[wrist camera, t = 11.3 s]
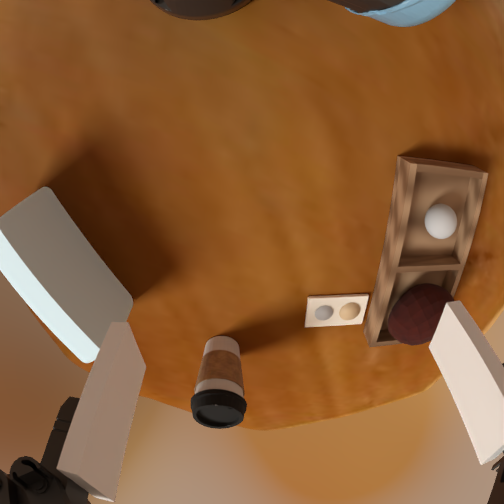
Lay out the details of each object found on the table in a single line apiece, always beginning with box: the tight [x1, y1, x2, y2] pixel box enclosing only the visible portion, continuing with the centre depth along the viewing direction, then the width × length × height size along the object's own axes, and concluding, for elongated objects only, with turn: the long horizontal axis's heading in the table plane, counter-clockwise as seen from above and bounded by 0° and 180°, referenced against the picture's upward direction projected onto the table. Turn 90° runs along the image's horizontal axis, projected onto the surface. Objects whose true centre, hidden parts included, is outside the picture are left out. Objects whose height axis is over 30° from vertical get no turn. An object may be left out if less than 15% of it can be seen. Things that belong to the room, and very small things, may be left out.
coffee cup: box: [191, 336, 247, 429], centre depth 49 cm, size 8×8×15 cm
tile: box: [305, 294, 369, 327], centre depth 51 cm, size 6×10×1 cm, turn 91°
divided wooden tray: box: [363, 156, 488, 347], centre depth 45 cm, size 31×14×4 cm, turn 0°
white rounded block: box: [0, 187, 133, 363], centre depth 40 cm, size 23×6×13 cm, turn 28°
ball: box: [425, 204, 457, 239], centre depth 40 cm, size 5×5×5 cm
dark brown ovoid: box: [388, 283, 454, 345], centre depth 45 cm, size 9×12×9 cm
